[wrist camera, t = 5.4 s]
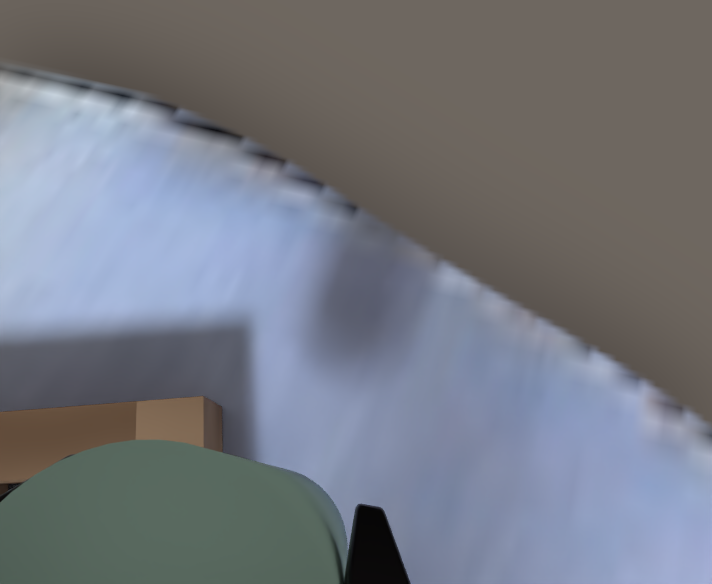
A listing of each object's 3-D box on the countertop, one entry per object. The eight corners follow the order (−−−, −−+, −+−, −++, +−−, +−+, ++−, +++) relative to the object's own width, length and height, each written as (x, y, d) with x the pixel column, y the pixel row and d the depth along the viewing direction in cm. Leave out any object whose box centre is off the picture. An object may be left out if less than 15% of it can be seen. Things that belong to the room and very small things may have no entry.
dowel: (378, 572, 15) (424, 719, 6) (241, 677, 14) (24, 1050, 5) (291, 437, 16) (203, 364, 7) (158, 528, 15) (-155, 597, 6)
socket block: (225, 712, 20) (204, 750, 17) (-83, 740, 20) (-156, 783, 17) (222, 406, 23) (203, 395, 20) (-46, 427, 23) (-103, 419, 20)
